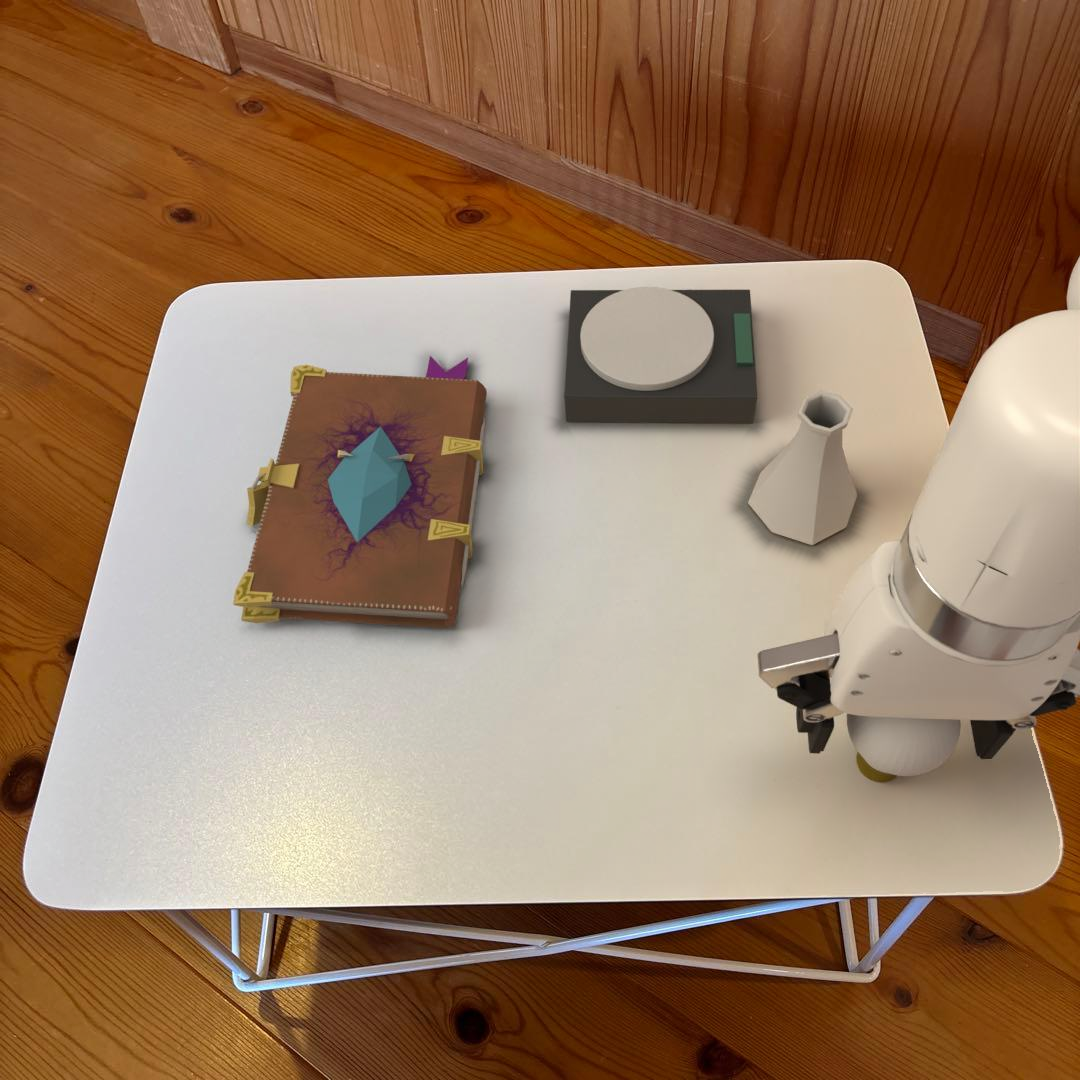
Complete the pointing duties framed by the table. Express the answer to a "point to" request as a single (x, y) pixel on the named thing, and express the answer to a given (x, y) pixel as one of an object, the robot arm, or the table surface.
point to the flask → (809, 476)
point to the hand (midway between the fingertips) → (895, 730)
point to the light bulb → (901, 745)
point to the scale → (660, 356)
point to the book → (368, 500)
